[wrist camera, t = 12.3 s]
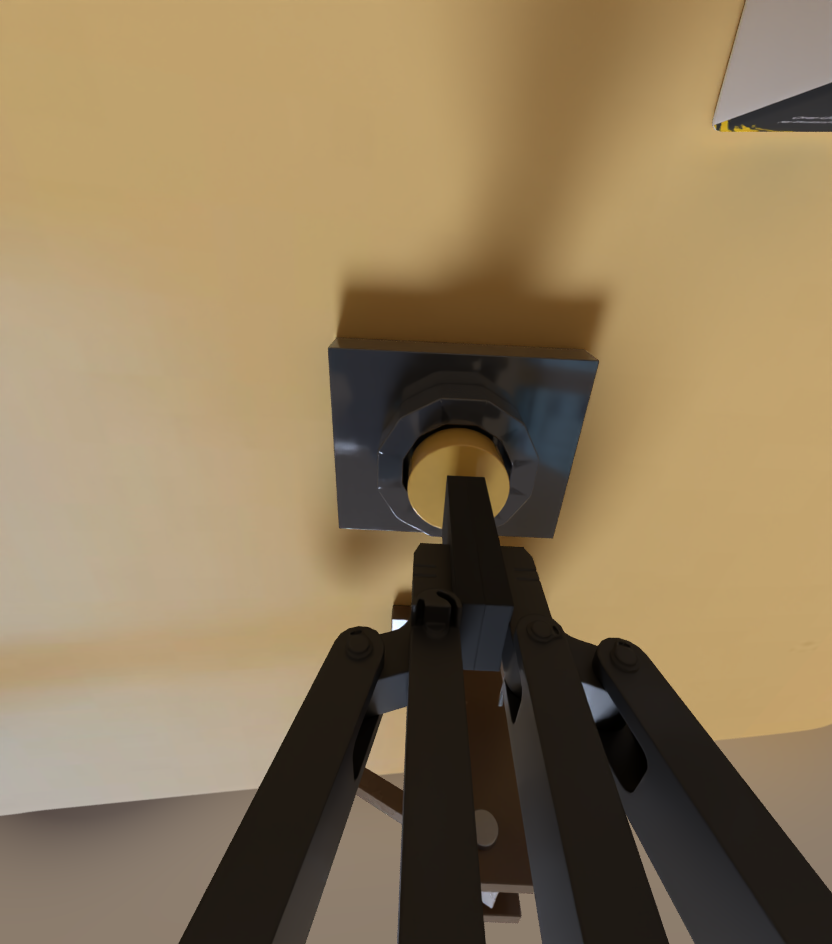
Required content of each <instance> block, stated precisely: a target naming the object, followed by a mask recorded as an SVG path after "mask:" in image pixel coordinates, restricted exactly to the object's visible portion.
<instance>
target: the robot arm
mask: <svg viewBox="0 0 832 944" xmlns="http://www.w3.org/2000/svg"><path fill="white" fill-rule="evenodd" d="M442 542H443V544H428V543H420V545H419V546H418V548H417V549H416V551H415V552H414V562H413V581H412V603H411V615H410V617H409V619H408V621H407V622H406V623H405V624H404V625H403V626H401V627H400V628H398V629H396V630H394V631H391V632H387V633H383V634H379V633H378V632H377V631H376V630H373V629H371V628H369V627H361V626H357V627H353V628H349V629H347V630H346V631H344V632H343V633H341V634H340V635H339V636H338V638H337V639H336V640H335V642H334V644H333V646H332V648H331V650H330V652H329V653H328V655H327V657H326V659H325V661H324V663H323V665H322V667H321V669H320V671H319V673H318V675H317V677H316V679H315V681H314V682H313V684H312V686H311V688H310V690H309V692H308V694H307V696H306V698H305V700H304V702H303V704H302V706H301V708H300V710H299V711H298V713H297V715H296V717H295V719H294V721H293V723H292V725H291V727H290V729H289V731H288V733H287V735H286V737H285V739H284V740H283V742H282V744H281V746H280V748H279V750H278V752H277V754H276V756H275V758H274V760H273V762H272V764H271V766H270V768H269V769H268V771H267V773H266V775H265V777H264V779H263V781H262V783H261V785H260V787H259V789H258V791H257V793H256V795H255V797H254V798H253V800H252V802H251V804H250V806H249V808H248V810H247V812H246V814H245V816H244V818H243V820H242V822H241V824H240V826H239V828H238V829H237V831H236V833H235V835H234V837H233V839H232V841H231V843H230V845H229V847H228V849H227V851H226V853H225V855H224V857H223V858H222V860H221V862H220V864H219V866H218V868H217V870H216V872H215V874H214V876H213V878H212V880H211V882H210V884H209V886H208V888H207V889H206V891H205V893H204V895H203V897H202V899H201V901H200V903H199V905H198V907H197V909H196V911H195V913H194V915H193V916H192V919H191V921H190V922H189V924H188V926H187V928H186V930H185V932H184V934H183V936H182V938H181V940H180V942H179V944H305V943H306V940H307V937H308V934H309V931H310V928H311V925H312V922H313V919H314V916H315V913H316V911H317V908H318V905H319V902H320V899H321V896H322V893H323V889H324V887H325V884H326V881H327V878H328V875H329V872H330V869H331V866H332V863H333V860H334V857H335V854H336V851H337V848H338V845H339V843H340V840H341V837H342V834H343V830H344V828H345V824H346V822H347V819H348V816H349V813H350V810H351V807H352V804H353V801H354V798H355V795H356V792H357V789H358V786H359V783H360V780H361V778H362V775H363V772H364V769H365V766H366V763H367V760H368V757H369V754H370V751H371V748H372V745H373V742H374V739H375V736H376V733H377V730H378V727H379V724H380V721H381V718H382V715H383V713H386V712H390V711H393V710H396V709H399V708H403V707H406V706H407V716H406V741H405V765H404V789H403V814H402V840H401V863H400V887H399V889H400V890H399V911H398V935H397V944H486V942H485V931H484V930H485V929H484V917H483V905H482V893H481V881H480V869H479V857H478V845H477V833H476V820H475V808H474V796H473V784H472V772H471V760H470V748H469V736H468V724H467V712H466V699H465V687H464V675H463V670H479V671H500V667H501V662H502V664H503V670H504V679H503V683H502V687H501V692H500V696H499V704H498V706H503V701H504V705H505V711H506V717H507V724H508V730H509V736H510V742H511V749H512V755H513V761H514V768H515V774H516V780H517V787H518V793H519V799H520V806H521V812H522V818H523V825H524V831H525V837H526V844H527V850H528V856H529V863H530V869H531V875H532V882H533V888H534V894H535V900H536V907H537V913H538V920H539V926H540V932H541V938H542V944H669V942H668V939H667V936H666V933H665V930H664V927H663V924H662V921H661V918H660V915H659V912H658V909H657V906H656V903H655V900H654V897H653V894H652V891H651V888H650V885H649V882H648V879H647V877H646V873H645V870H644V867H643V864H642V862H641V858H640V855H639V852H638V849H637V846H636V843H635V840H634V838H633V835H632V831H631V828H630V826H629V823H628V820H627V817H628V819H629V821H630V823H631V825H632V827H633V829H634V830H635V832H636V834H637V836H638V838H639V840H640V841H641V844H642V845H643V847H644V849H645V851H646V853H647V855H648V857H649V858H650V860H651V862H652V864H653V866H654V868H655V870H656V871H657V874H658V875H659V877H660V879H661V881H662V883H663V885H664V887H665V889H666V891H667V892H668V894H669V896H670V898H671V900H672V902H673V904H674V906H675V907H676V909H677V911H678V913H679V915H680V917H681V919H682V920H683V922H684V924H685V926H686V928H687V930H688V932H689V934H690V935H691V937H692V939H693V941H694V943H695V944H832V893H831V891H830V890H829V889H828V888H827V886H826V885H825V884H824V882H823V881H822V880H821V879H820V877H819V876H818V875H817V873H816V872H815V871H814V870H813V868H812V867H811V866H810V864H809V863H808V862H807V861H806V860H805V858H804V857H803V855H802V854H801V853H800V852H799V850H798V849H797V848H796V846H795V845H794V844H793V843H792V841H791V840H790V839H789V838H788V836H787V835H786V834H785V832H784V831H783V830H782V828H781V827H780V826H779V825H778V823H777V822H776V821H775V819H774V818H773V817H772V816H771V814H770V813H769V812H768V810H767V809H766V808H765V807H764V805H763V804H762V803H761V802H760V800H759V799H758V798H757V796H756V795H755V794H754V792H753V791H752V790H751V789H750V787H749V786H748V785H747V783H746V782H745V781H744V779H743V778H742V777H741V776H740V775H739V773H738V772H737V771H736V769H735V768H734V767H733V765H732V764H731V763H730V762H729V760H728V759H727V758H726V756H725V755H724V754H723V752H722V751H721V750H720V749H719V747H718V746H717V745H716V744H715V742H714V741H713V740H712V738H711V737H710V736H709V734H708V733H707V732H706V731H705V729H704V728H703V727H702V725H701V724H700V723H699V722H698V720H697V719H696V718H695V716H694V715H693V714H692V713H691V711H690V710H689V709H688V707H687V706H686V705H685V704H684V702H683V701H682V700H681V698H680V697H679V696H678V695H677V693H676V692H675V691H674V689H673V688H672V687H671V686H670V684H669V683H668V682H667V680H666V679H665V678H664V677H663V675H662V674H661V673H660V671H659V670H658V669H657V668H656V666H655V665H654V664H653V662H652V661H651V660H650V659H649V657H648V656H647V655H646V654H645V653H644V652H643V651H642V650H641V649H640V648H639V647H638V646H636V645H634V644H633V643H631V642H629V641H627V640H624V639H620V638H607V639H605V640H602V641H601V643H600V644H599V645H598V646H596V645H593V644H590V643H587V642H584V641H581V640H578V639H575V638H573V637H571V636H569V635H568V634H566V633H564V631H563V629H562V627H561V626H560V625H559V624H558V623H557V622H556V621H555V620H554V619H552V617H551V614H550V611H549V608H548V604H547V601H546V598H545V595H544V592H543V589H542V586H541V582H540V581H539V576H538V573H537V572H536V567H535V564H534V560H533V558H532V556H531V555H530V554H529V553H528V552H527V551H526V550H525V549H524V547H508V546H500V541H499V537H498V533H497V528H496V524H495V520H494V515H493V511H492V506H491V502H490V498H489V493H488V489H487V485H486V480H485V477H472V476H452V475H447V481H446V491H445V502H444V513H443V524H442ZM626 815H627V817H626Z"/></svg>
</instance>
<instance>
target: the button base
mask: <svg viewBox="0 0 832 944" xmlns="http://www.w3.org/2000/svg"><path fill="white" fill-rule="evenodd" d="M328 358H329V375H330V391H331V407H332V423H333V439H334V456H335V472H336V488H337V504H338V520H339V528H341V529H362V530H384V531H405V532H424V533H426V534H427V535H429V536H436V537H442V529H441V528H437V527H435V526H433V525H430V524H429V523H427V522H426V521H424V520H423V519H422V518H421V517H420V516H419V515H418V514H417V513H416V512H415V511H414V509H413V507H412V506H411V504H410V501H409V498H408V490H407V486H408V472H409V463H410V459H411V457H412V454H413V452H414V451H415V449H416V448H417V446H418V445H419V444H420V443H421V442H422V441H423V440H424V439H426V438H427V437H428V436H430V435H432V434H434V433H436V432H438V431H441V430H445V429H449V428H467V429H471V430H475V431H477V432H480V433H482V434H483V435H485V436H487V437H488V438H489V439H490V440H492V441H493V442H494V444H495V445H496V446H497V447H498V449H499V451H500V453H501V455H502V458H503V461H504V464H505V467H506V470H507V473H508V477H509V482H510V489H509V495H508V498H507V501H506V503H505V505H504V507H503V508H502V510H501V511H500V512H499V513H498V514H497V515H496V516H495V517H494V520H495V524H496V528H497V533H498V536H512V537H534V538H553V536H554V532H555V528H556V525H557V521H558V517H559V513H560V509H561V506H562V502H563V498H564V494H565V490H566V486H567V483H568V479H569V475H570V471H571V467H572V463H573V460H574V456H575V452H576V448H577V444H578V440H579V437H580V433H581V429H582V425H583V421H584V418H585V414H586V410H587V406H588V402H589V398H590V395H591V391H592V387H593V383H594V379H595V375H596V372H597V368H598V364H599V360H598V359H596V358H595V357H594V356H592V355H591V354H590V353H588V352H587V351H586V350H583V349H563V348H542V347H521V346H500V345H480V344H459V343H438V342H417V341H397V340H376V339H355V338H336V339H335V340H334V341H333V342H332V344H331V345H330V346H329V347H328Z"/></svg>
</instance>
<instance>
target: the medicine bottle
mask: <svg viewBox="0 0 832 944" xmlns="http://www.w3.org/2000/svg"><path fill="white" fill-rule="evenodd" d="M712 126H713V128H714V129H715V130H717V131H721V132H832V0H746V1H745V5H744V9H743V12H742V16H741V19H740V23H739V27H738V30H737V34H736V37H735V41H734V45H733V48H732V52H731V55H730V59H729V63H728V66H727V70H726V73H725V77H724V81H723V84H722V88H721V91H720V95H719V99H718V102H717V106H716V109H715V113H714V117H713V122H712Z"/></svg>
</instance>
